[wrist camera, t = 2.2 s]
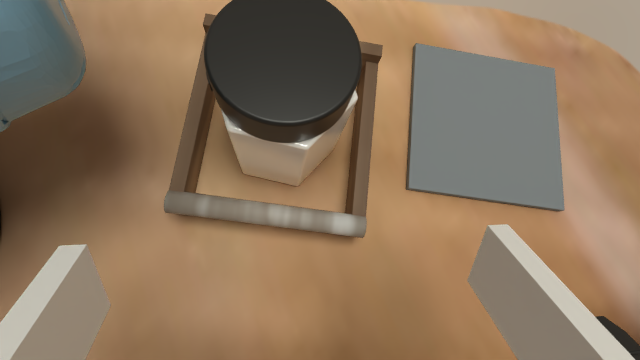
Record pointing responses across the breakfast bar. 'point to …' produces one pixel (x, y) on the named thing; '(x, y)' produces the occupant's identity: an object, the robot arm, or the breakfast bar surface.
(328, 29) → the jar
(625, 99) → the breakfast bar surface
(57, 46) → the robot arm
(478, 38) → the breakfast bar surface
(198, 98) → the jar holder
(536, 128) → the mat
